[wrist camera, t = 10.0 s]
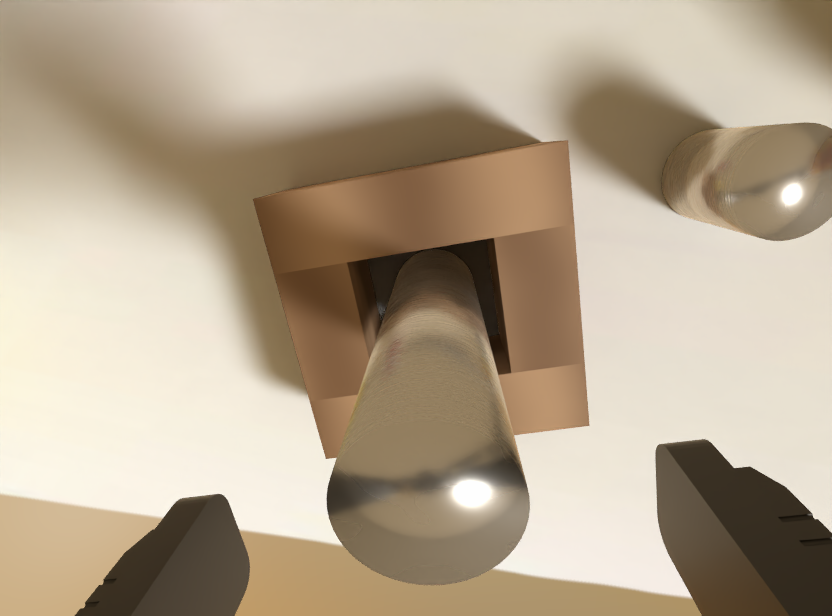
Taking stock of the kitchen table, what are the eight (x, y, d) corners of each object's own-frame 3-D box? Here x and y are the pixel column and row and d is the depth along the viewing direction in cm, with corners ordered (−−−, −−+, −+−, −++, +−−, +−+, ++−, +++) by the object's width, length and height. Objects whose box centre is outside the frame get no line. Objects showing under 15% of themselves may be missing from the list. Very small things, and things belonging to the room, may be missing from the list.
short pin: (753, 121, 19) (859, 112, 14) (750, 211, 20) (846, 230, 15) (660, 138, 19) (733, 134, 14) (662, 225, 20) (729, 249, 16)
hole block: (542, 142, 19) (568, 140, 16) (564, 379, 23) (589, 425, 19) (287, 190, 21) (252, 199, 17) (344, 409, 24) (326, 458, 20)
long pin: (467, 243, 21) (517, 406, 8) (479, 318, 22) (539, 575, 9) (388, 256, 21) (304, 434, 8) (403, 330, 22) (351, 593, 9)
